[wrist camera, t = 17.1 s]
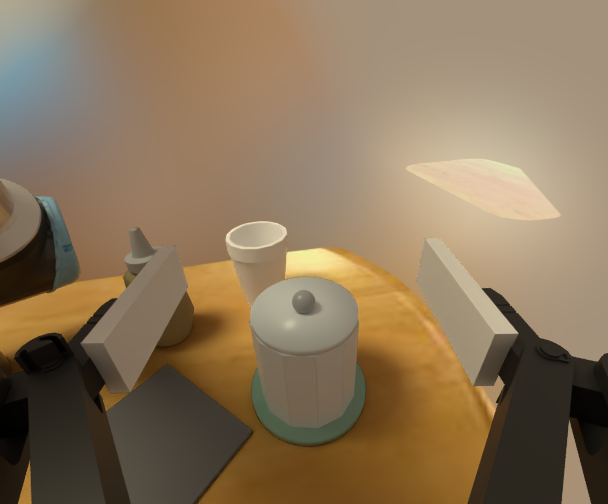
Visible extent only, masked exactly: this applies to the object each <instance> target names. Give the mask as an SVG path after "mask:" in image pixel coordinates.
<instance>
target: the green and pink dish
mask: <svg viewBox="0 0 608 504" xmlns="http://www.w3.org/2000/svg"><path fill="white" fill-rule="evenodd" d="M251 393H252V401H253V405H254V409H255V412H256V414H257V417H258V419H259V420H260V422H261V423H262V425H263V426H264V427H265V428H266V429H267V430H268V431H269V432H270V433H271V434H272V435H274V436H275V437H277V438H278V439H280V440H282V441H285V442H287V443H290V444H293V445H299V446H317V445H323V444H326V443H329V442H332V441H334V440H336V439H338V438H340V437H341V436H343V435H344V434H345V433H347V432H348V431H349V430H350V429H351V428H352V427H353V426H354V424H355V423H356V422H357V420H358V419H359V417H360V415H361V413H362V410H363V407H364V403H365V395H366V383H365V378H364V375H363V372H362V370H361V368H360V366H359V364H358V363H357V361H356V374H355V388H354V397H353V398H352V400H351V402H350V403H349V405H348V407H347V409H346V410H345V412H344V414H343V415H342V417H340V418H338V419H336V420H334V421H332V422H330V423H328V424H326V425H324V426H322V427H320V428H303V427H291V426H289V425H288V424H286V423H285V422H284V421H282V420H281V419H279V418H278V417H276V416H275V415H274V414H272V413H271V412H270V410H269V408H268V405H267V402H266V400H265V397H264V395H263V392H262V388H261V382H260V377H259V371H258V368H257V370H256V372H255V374H254V377H253V381H252V390H251Z"/></svg>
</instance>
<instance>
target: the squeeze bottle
mask: <svg viewBox="0 0 608 504" xmlns="http://www.w3.org/2000/svg"><path fill="white" fill-rule="evenodd" d="M129 233H130V242H131V251H132V252H130V253H129V254H128V255H126V257H125V259H124V260H125V263H126V266H127V268H128V270H127V272H126V273H125V275H124V277H123V278H124V282H125V286H126V288H127V287H128V286H129V285H130V283H131V282H132V281H133V280H134V279H135V277H136V276H137V275H138V274H139V273H140V271H141V270H142V269H143V268H144V266H145V265H146V264H147V263H148V262H149V260H150V259H151V258H152V257H153V256H154V254H155V253H156V252H157V251H158V250H159V247H156V246H151V245H150V244H149V242H148V241H147V239H146V238H145V236H144V235H143V233H142V231H141V230H140V228H138V227H136V228H132V229H130V230H129ZM193 313H194V307H193V304H192V302H191V300H190V298H189V296H188V293H187V291H186V292H185V293H184V295H183V297H182V299H181V301H180V303H179V304H178V306H177V308H176V310H175V312H174V314H173V315H172V317H171V319H170V321H169V323H168V325H167V326H166V328H165V330H164V332H163V334H162V336H161V337H160V339H159V341H158V343H157V346H161V347H167V346H173V345H175V344H177V343H180V342H181V341H183V340H184V339H185V338H187V336H188V335H189V334H190V332H191V329H192V321H193Z"/></svg>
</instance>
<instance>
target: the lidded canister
mask: <svg viewBox="0 0 608 504" xmlns="http://www.w3.org/2000/svg"><path fill="white" fill-rule="evenodd" d="M250 317H251V319H250V328H251V333H252V339H253V344H254V349H255V355H256V360H257V366H258V371H259V377H260V382H261V388H262V392H263V395H264V397H265V400H266V402H267V405H268V408H269V410H270V412H271V413H272V414H274V415H275V416H276V417H278V418H279V419H281V420H282V421H284V422H285V423H286V424H288V425H289V426H291V427H303V428H320V427H322V426H324V425H326V424H328V423H330V422H332V421H334V420H336V419H338V418H340V417H342V415H343V414H344V412H345V410H346V409H347V407H348V405H349V403H350V402H351V400H352V398H353V397H354V388H355V374H356V359H357V344H358V329H359V323H358V306H357V303H356V300H355V299H354V297H353V296H352V294H351V293H350V292H349V291H348V290H347V289H345V288H344V287H342V286H341V285H339V284H337V283H335V282H333V281H330V280H326V279H322V278H316V277H298V278H291V279H287V280H283V281H281V282H278V283H276V284H273V285H272V286H270V287H268V288H267V289H265V290H264V291H263V292H262V293H261V294H260V295H259V296H258V297H257V298H256V300H255V301H254V303H253V305H252V308H251V313H250Z"/></svg>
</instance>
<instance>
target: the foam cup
mask: <svg viewBox="0 0 608 504" xmlns="http://www.w3.org/2000/svg"><path fill="white" fill-rule="evenodd" d="M226 244H227V250H228V254H229V255H230V256H231V259H232V262H233V264H234V267H235V270H236V273H237V275H238V278H239V281H240V284H241V287H242V289H243V292H244V295H245V298H246V300H247V302H248V305H249V306H250V308H252V305H253V303H254V301H255V300H256V298H257V297H258V296H259V295H260V294H261V293H262V292H263V291H264V290H265V289H267V288H268V287H270V286H272V285H273V284H276V283H278V282H281V281H283V280H285V269H286V252H287V248H288V241H287V233H286V228H285V227H283V226H282V225H280V224H278V223H273V222H252V223H246V224H243V225H240V226H238V227H236V228H234V229H232V230H231V231H230V232H229V233H228V234H227V236H226Z"/></svg>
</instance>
